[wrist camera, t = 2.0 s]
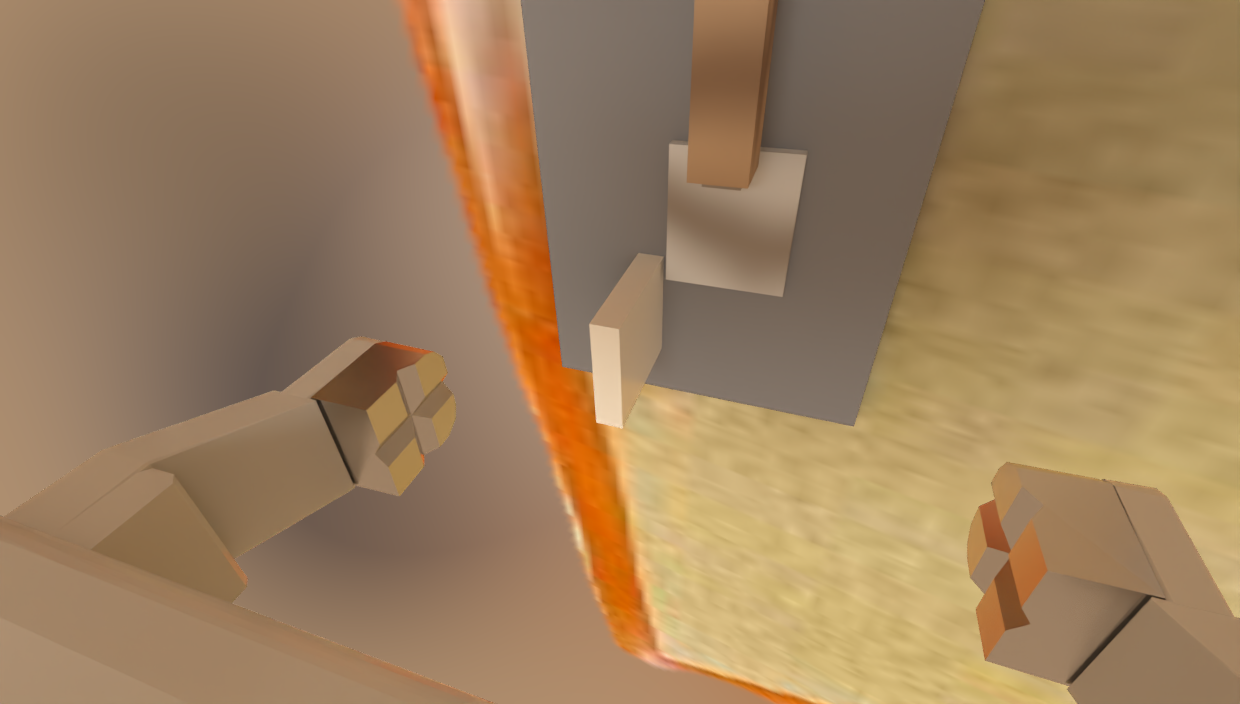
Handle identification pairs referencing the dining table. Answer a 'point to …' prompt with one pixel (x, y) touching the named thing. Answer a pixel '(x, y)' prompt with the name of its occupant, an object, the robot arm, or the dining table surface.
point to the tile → (627, 339)
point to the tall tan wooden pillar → (731, 160)
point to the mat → (794, 119)
